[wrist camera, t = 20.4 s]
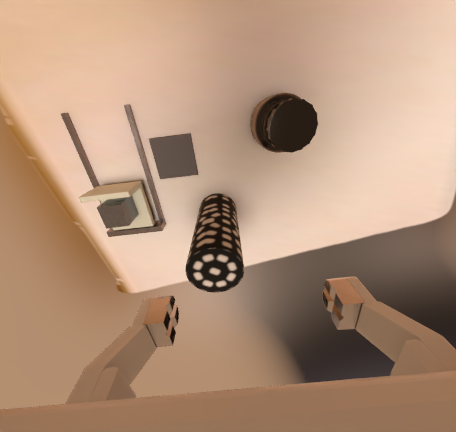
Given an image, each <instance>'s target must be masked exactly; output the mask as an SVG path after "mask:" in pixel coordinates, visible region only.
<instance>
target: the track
mask: <svg viewBox="0 0 456 432" xmlns="http://www.w3.org/2000/svg"><path fill="white" fill-rule="evenodd" d="M124 107H125V111H126V114H127V117H128V120H129V123H130V127H131V130H132V133H133V136H134V139H135V143H136V146H137V149H138V152H139V155H140V159H141V162H142V165H143V168H144V171H145V175H146V178H147V181H148V184H149V188H150V191H151V194H152V197H153V200H154V204H155V207H156V210H157V213H158V216H159V220H158V221H154V223H155V224H154V225H153V226H148V227H139V228H131V229H122V230H113V228H110V229H109V230H108V231H107V234H108V236H109V237H112V236H121V235H129V234H138V233H147V232H156V231H163V229H164V227H165V225H166V223H165V220H164V217H163V213H162V210H161V206H160V203H159V200H158V196H157V193H156V190H155V186H154V183H153V180H152V176H151V173H150V170H149V166H148V163H147V160H146V156H145V153H144V150H143V146H142V143H141V140H140V136H139V133H138V130H137V126H136V123H135V119H134V116H133V113H132V109H131V106H130V105H124ZM61 116H62V118H63V120H64V122H65V125H66V127H67V129H68V131H69V134H70V136H71V138H72V140H73V143H74V145H75V147H76V149H77V151H78V154H79V156H80V158H81V160H82V163H83V165H84V167H85V169H86V172H87V174H88V176H89V178H90V181H91V183H92V185H93V187H94V188H96V187H97V186H99V184H98V181H97V179H96V177H95V175H94V172H93V170H92V168H91V165H90V163H89V161H88V158H87V156H86V154H85V151H84V149H83V147H82V144H81V142H80V140H79V137H78V135H77V133H76V130H75V128H74V126H73V124H72V121H71V119H70V117H69V114H68V113H62V114H61ZM99 201H100V200H99ZM100 203H101V201H100Z"/></svg>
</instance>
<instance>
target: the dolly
mask: <svg viewBox="0 0 456 432" xmlns="http://www.w3.org/2000/svg"><path fill="white" fill-rule="evenodd" d="M131 195H132V196H133V199H134V202H135V205H136V207H137V210H138V213H139V215H138V216H137V217H136V218H135V219H134V221H133V222H132V223H131V224H130V225H129V226H123V227H115V228H113V230H122V229H131V228H139V227H148V226H153V225H154V224H155V223H154V220H153V214H152V212H151V210H150V207H149V204H148V201H147V198H146V195H145V192H144V186H143V184H142V183H141V181H136V182H127V183H119V184H111V185H103V186H97V187H96V188H94V189H92V190H90V191H89V192H87V193H85V194H84V195H82V196H80V197H79V199H80V201H81V203H82V202H90V201H99V200H100V201H101V204H102V203H103V202H105V201H106V200H107V199H116V198H124V197H130V196H131Z"/></svg>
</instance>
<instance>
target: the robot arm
mask: <svg viewBox="0 0 456 432" xmlns="http://www.w3.org/2000/svg"><path fill="white" fill-rule="evenodd" d="M324 286H325V289H324V291H323V301H324V304H325V306H326V308H327V310H328V311H330V312H331V313H332V316H331V317H332V320H333V322H334V323H335V325H336V327H337V329H338V330H341V329H356V330H357V331H358V332H359V333H360V334H362V335H363V336H364V337H365V338H366V339H368V340H369V341H370V342H371V343H373V344H374V345H375V346H376V347H377V348H379V349H380V350H381V351H382V352H383V353H385V354H386V355H387V356H388V357H389V358H391V359H392V360H393V361H394V362H395V365H394V367H393V369H392V371H391V376H385V377H373V378H362V379H350V380H338V381H326V382H315V383H303V384H291V385H280V386H268V387H256V388H246V389H234V390H223V391H212V392H211V391H210V392H199V393H187V394H176V395H165V396H153V397H141V398H136V395H135V393H134V391H133V390H132V389H131V387H130V384H131V383H132V381H133V380H134V379H135V377H136V376H137V375H138V373H139V372H140V371H141V369H142V368H143V366H144V365H145V364H146V362H147V361H148V360H149V358H150V357H151V355H152V354H153V353H154V351H155V350H156V347H163V346H171V345H173V342H174V338H175V334H176V332H175V329H174V328H175V326H176V325H177V324H178V319H179V312H178V307H177V305H175V304H174V303H175V298H174V296H162V297H151V298H145V299H144V300H143V302H142V304H141V306H140V309H139V311H138V313H137V316H136V318H135V320H134V323H133V325H132V326H130V327H128V328H127V329H126V330H125V331H124V332H123V333H122V334H121V335H120V336H119V337H118V338H116V340H114V341H113V342H112V343H111V344H110V345H109V346H108V347H107V348H106V349H105V350H104V351H103V352H102V353H100V354H99V355H98V356H97V357H96V358H95V359H94V360H93V361H92V362H91V363H90V364H89V365H88V366H87V367H86V368H85V369H84V370H83V372H82V374H81V376H80V378H79V379H78V381H77V383H76V385H75V387H74V389H73V390H72V392H71V394H70V396H69V398H68V400H67V402H66V403H65V404H61V405H50V406H49V405H48V406H37V407H26V408H14V409H2V410H0V432H456V349H455V348H453V346H451V345H450V343H449V342H448V341H447V340H446V339H445V338H444V337H443V336H441V335H439V334H438V333H436V332H434V331H432V330H430V329H429V328H427V327H425V326H423V325H421V324H420V323H418V322H416V321H414V320H412V319H410V318H409V317H407V316H405V315H403V314H401V313H399V312H398V311H396V310H394V309H392V308H391V307H389V306H387V305H385V304H383V303H382V302H377V301H376V300H375V299H374V298H373V296H372V295H371V294H370V293H369V292H368V290H367V289H366V288H365V287H364V286H363V284H362V283H361V282H360V281H359V280H358V278H357V277H346V278H336V279H329V280H328V279H327V280H325V281H324Z"/></svg>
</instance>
